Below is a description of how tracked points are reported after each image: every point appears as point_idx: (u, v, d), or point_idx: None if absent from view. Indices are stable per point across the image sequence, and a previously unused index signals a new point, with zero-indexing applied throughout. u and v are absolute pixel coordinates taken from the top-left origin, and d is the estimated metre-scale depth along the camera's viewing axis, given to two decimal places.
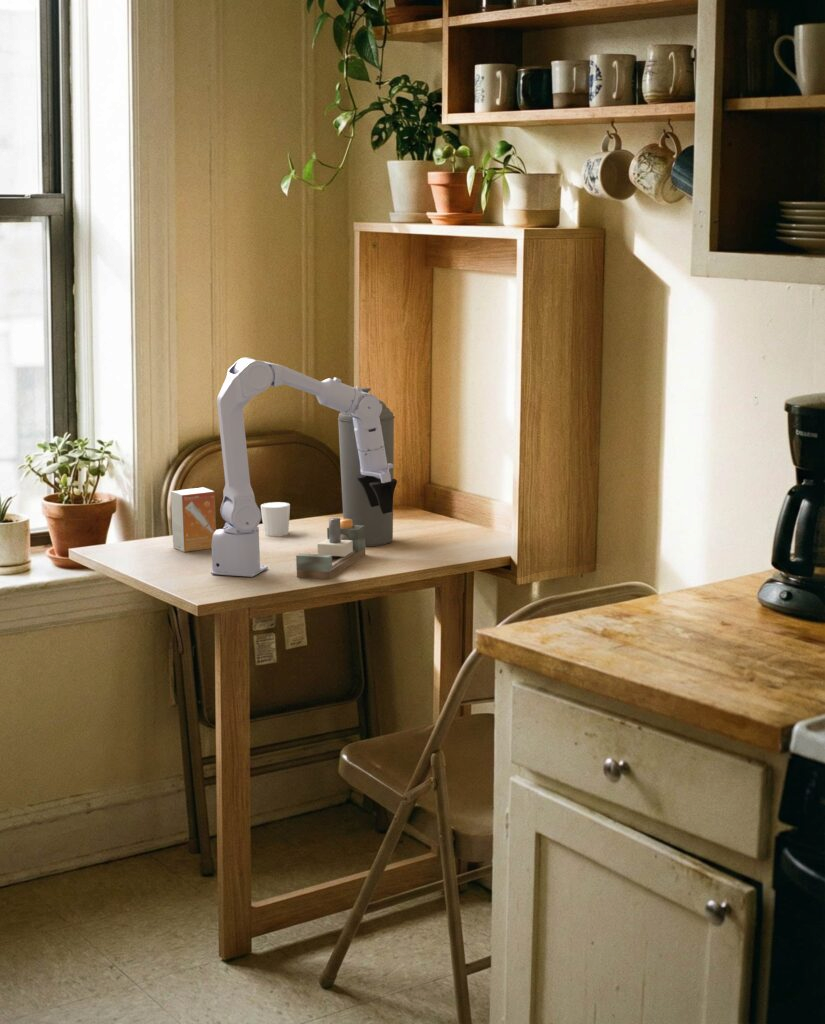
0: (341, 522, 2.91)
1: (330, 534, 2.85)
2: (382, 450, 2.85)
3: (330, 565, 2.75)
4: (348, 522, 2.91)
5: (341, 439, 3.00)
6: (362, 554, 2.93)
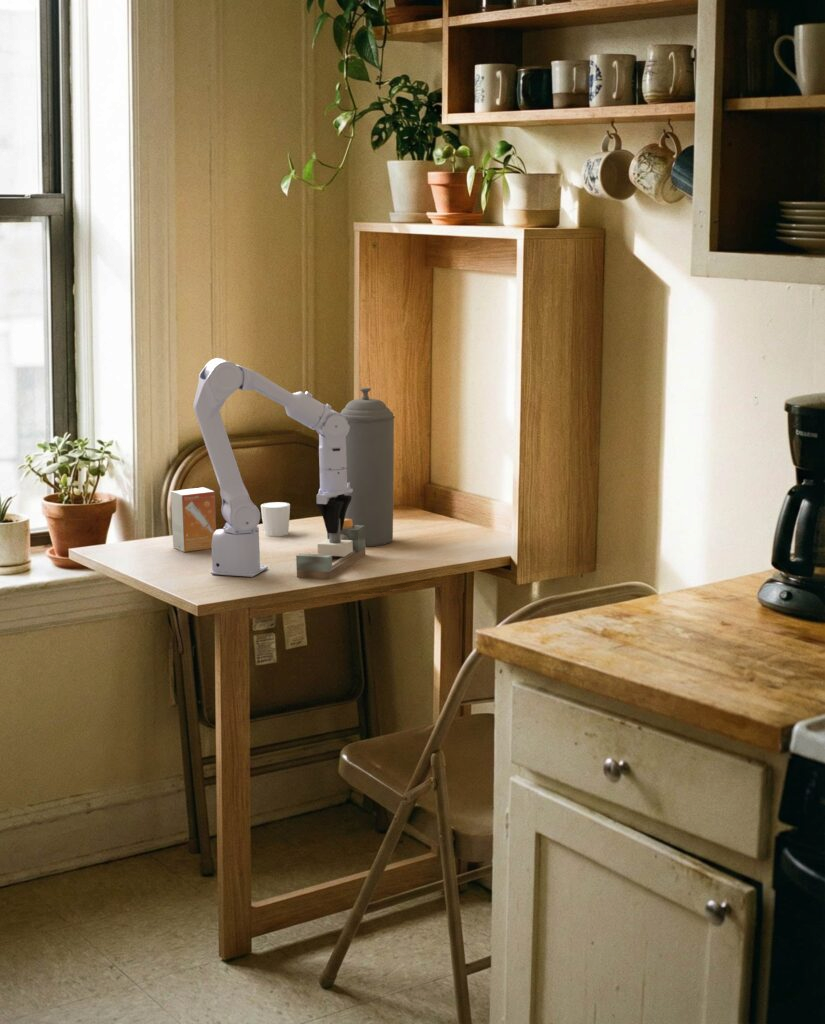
0: None
1: (330, 534, 2.85)
2: (337, 472, 2.81)
3: (330, 565, 2.75)
4: (348, 522, 2.91)
5: None
6: (362, 554, 2.93)
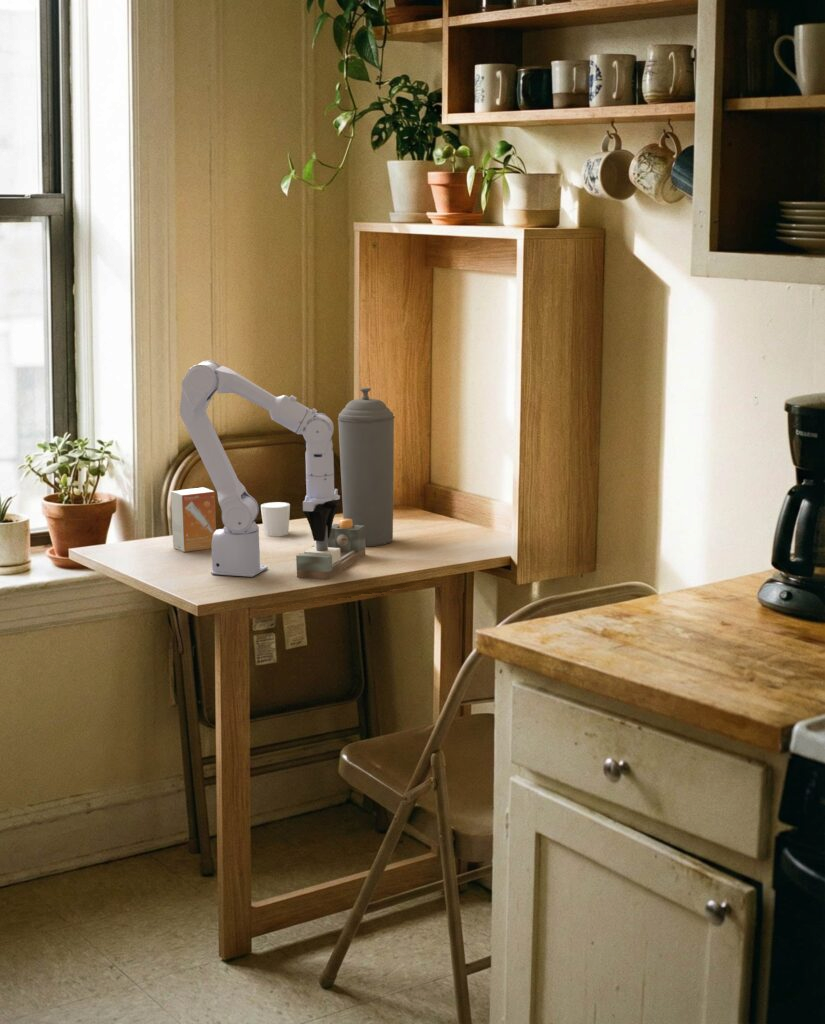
0: (341, 522, 2.91)
1: (317, 542, 2.78)
2: (324, 479, 2.74)
3: (330, 565, 2.75)
4: (348, 522, 2.91)
5: (341, 439, 3.00)
6: (362, 554, 2.93)
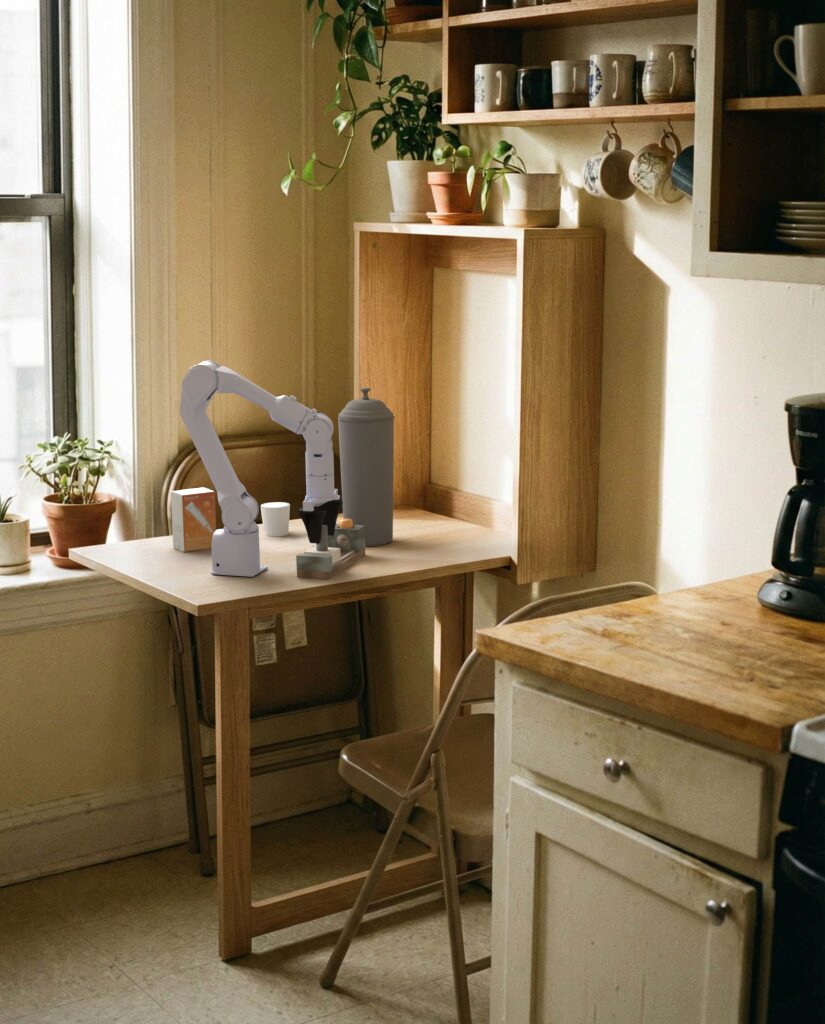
0: (341, 522, 2.91)
1: None
2: (324, 479, 2.74)
3: (330, 565, 2.75)
4: (348, 522, 2.91)
5: (341, 439, 3.00)
6: (362, 554, 2.93)
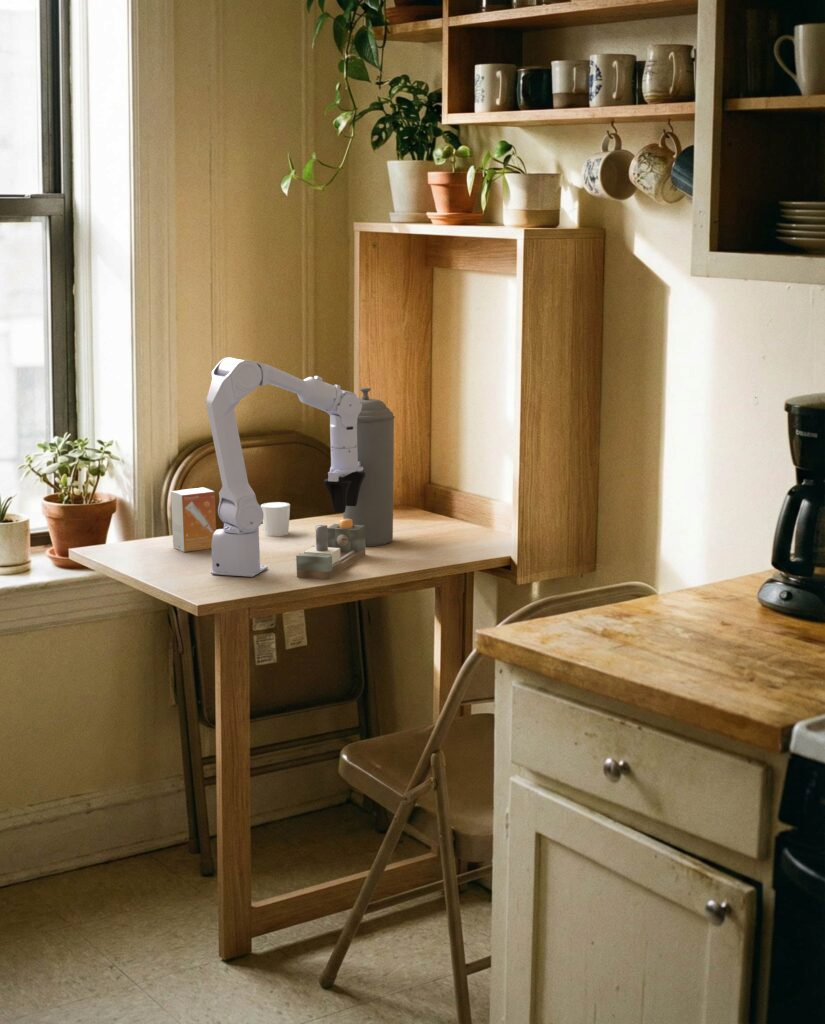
0: (341, 522, 2.91)
1: (317, 542, 2.78)
2: (348, 451, 2.86)
3: (330, 565, 2.75)
4: (348, 522, 2.91)
5: None
6: (362, 554, 2.93)
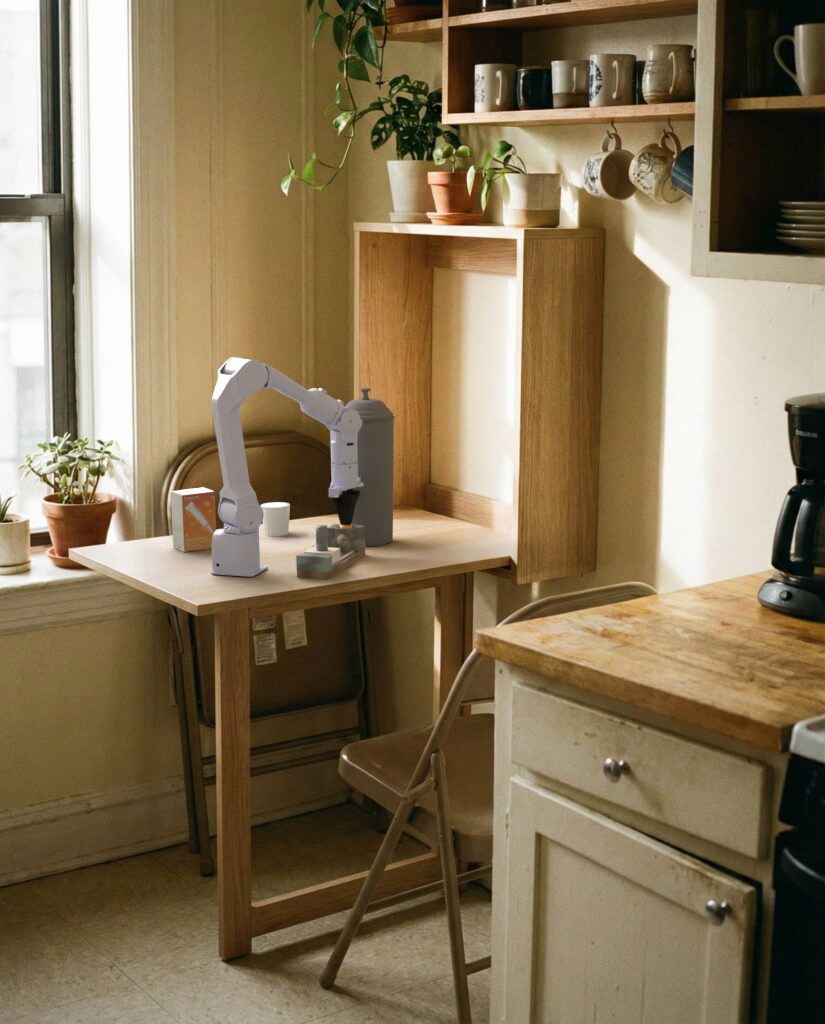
0: (341, 526, 2.91)
1: (317, 542, 2.78)
2: (348, 467, 2.87)
3: (330, 565, 2.75)
4: (348, 526, 2.91)
5: None
6: (362, 554, 2.93)
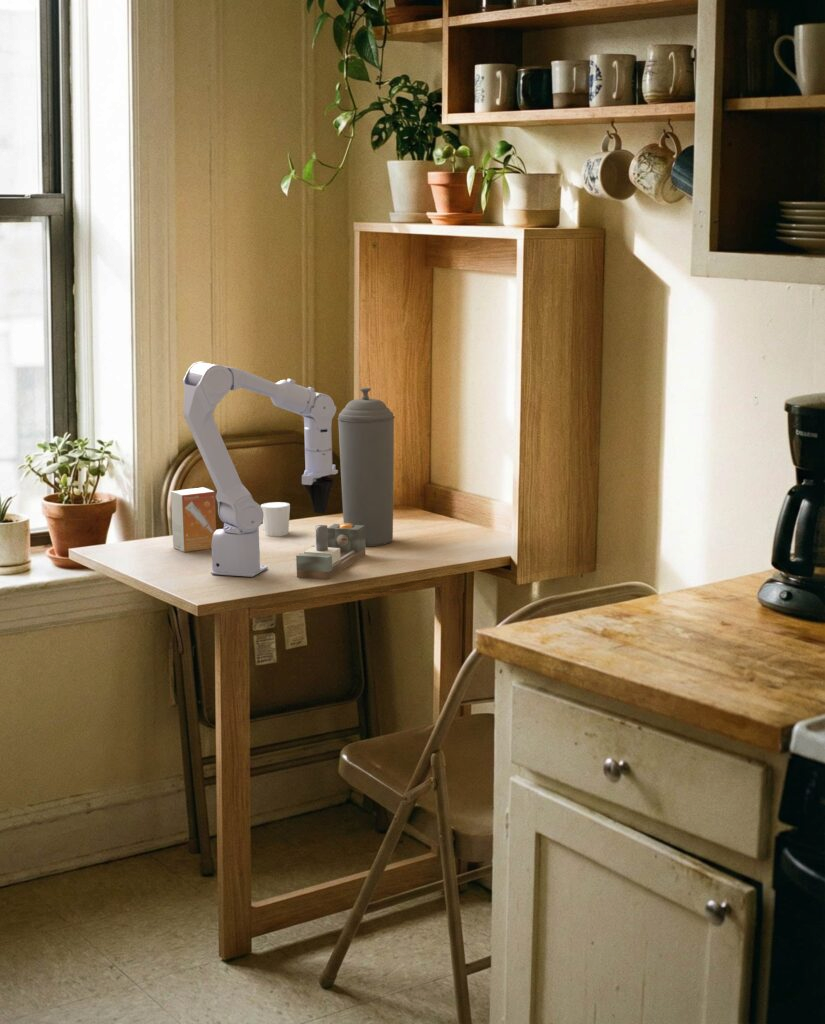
0: (341, 527, 2.91)
1: (317, 542, 2.78)
2: (322, 454, 2.83)
3: (330, 565, 2.75)
4: (348, 527, 2.91)
5: (341, 439, 3.00)
6: (362, 554, 2.93)
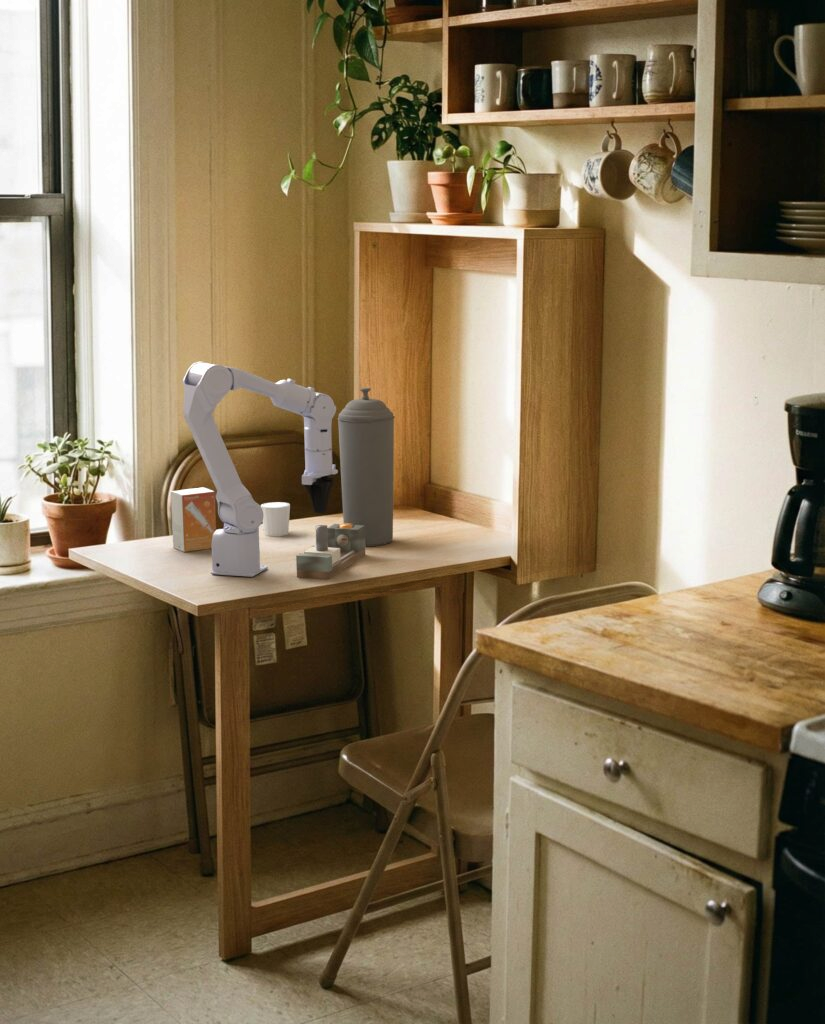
0: (341, 527, 2.91)
1: (317, 542, 2.78)
2: (322, 454, 2.83)
3: (330, 565, 2.75)
4: (348, 527, 2.91)
5: (341, 439, 3.00)
6: (362, 554, 2.93)
